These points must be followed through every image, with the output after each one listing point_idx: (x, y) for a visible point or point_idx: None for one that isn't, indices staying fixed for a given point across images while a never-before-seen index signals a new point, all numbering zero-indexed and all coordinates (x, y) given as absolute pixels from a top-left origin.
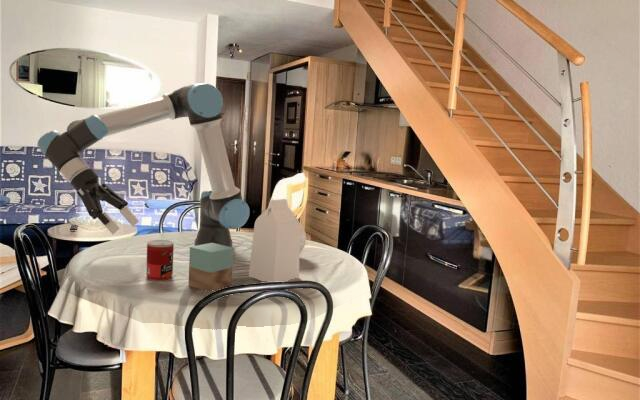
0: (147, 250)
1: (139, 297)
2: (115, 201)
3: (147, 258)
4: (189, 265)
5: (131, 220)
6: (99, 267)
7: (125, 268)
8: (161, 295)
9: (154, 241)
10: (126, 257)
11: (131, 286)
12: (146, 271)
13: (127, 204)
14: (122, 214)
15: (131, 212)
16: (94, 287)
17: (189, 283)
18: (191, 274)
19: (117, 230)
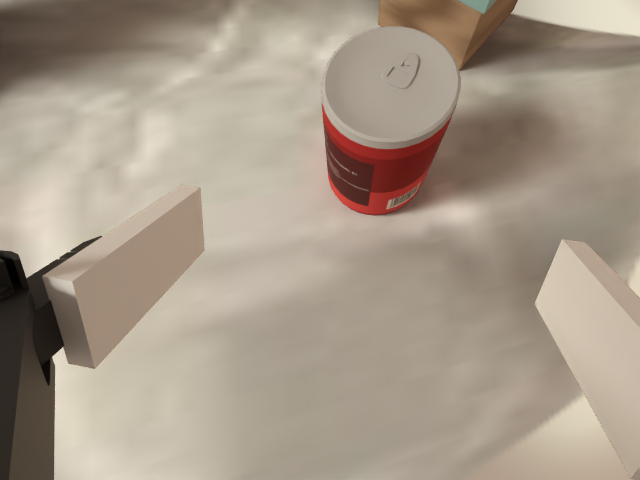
0: (417, 157)
1: (630, 182)
2: (30, 426)
3: (414, 175)
4: (486, 9)
5: (182, 246)
6: (264, 451)
7: (271, 327)
8: (587, 124)
9: (355, 118)
10: (78, 375)
11: (516, 238)
12: (388, 208)
13: (16, 258)
14: (126, 328)
15: (129, 227)
16: (567, 371)
17: (463, 62)
18: (478, 30)
19: (554, 266)
